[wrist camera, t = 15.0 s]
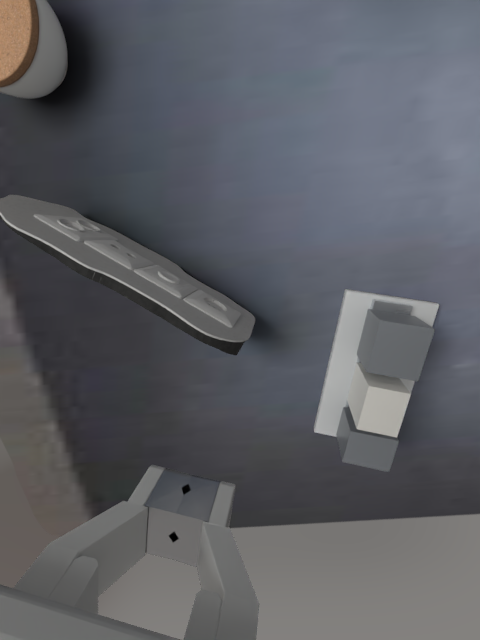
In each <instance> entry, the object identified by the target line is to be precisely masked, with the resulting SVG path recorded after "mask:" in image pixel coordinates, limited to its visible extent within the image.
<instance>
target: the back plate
mask: <svg viewBox="0 0 480 640" xmlns="http://www.w3.org/2000/svg"><path fill="white" fill-rule="evenodd" d="M372 299H377V300H384V301H390V302H397V303H403V304H410V305H411V306H413V308H412V311H411V315H412V316H416V317H417V318H419V319H420V320H422V321H423V322H425V323H427V324H428V325H430V326H431V327H432V326H433V323H434V320H435V317H436V313H437V310H438V307H439V304H437V303H435V302H428V301H422V300H415V299H408V298H402V297H395V296H388V295H382V294H375V293H369V292H362V291H355V290H349V289H345V292H344V296H343V301H342V305H341V310H340V314H339V318H338V323H337V327H336V332H335V336H334V341H333V345H332V349H331V354H330V358H329V363H328V367H327V371H326V376H325V380H324V385H323V389H322V393H321V398H320V402H319V407H318V411H317V416H316V420H315V424H314V432H316V433H321V434H326V435H330V436H335V437H337V435H336V433H337V430H338V426H339V422H340V418H341V414H342V410H343V407H345V406H346V402H347V398H348V394H349V390H350V386H351V382H352V378H353V374H354V370H355V366H356V362H357V358H358V356H357V350H358V346H359V342H360V338H361V334H362V330H363V327H364V323H365V319H366V315H367V311H368V309H370V307H371V303H372ZM399 379H400V380H401V381H402V383H403V384H404V385H405V387H406V388H407V389H408V391H409V392H410V393H411V392H412V389H413V386H414V382H415V381H412V380H407V379H401V378H399Z"/></svg>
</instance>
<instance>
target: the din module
mask: <svg viewBox="0 0 480 640" xmlns="http://www.w3.org/2000/svg"><path fill="white" fill-rule="evenodd" d="M410 396H411V393H410V392H409V391H408V389H407V388H406V387H405V385H404V384H403V383H402V381H401V380H400V379H399V378H396V377H390V376H385V375H379V374H374V373H368V372H366V371H365V369H364V367H363V365H362V363H358V362H357V363H356V367H355V371H354V375H353V379H352V383H351V386H350V390H349V394H348V398H347V401H348V404H349V407H350V410H351V413H352V416H353V419H354V422H355V425H356V429H358V430H363V431H368V432H373V433H377V434H382V435H387V436H392V437H397V436H398V433H399V430H400V427H401V424H402V421H403V418H404V415H405V412H406V409H407V406H408V402H409V399H410Z"/></svg>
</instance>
